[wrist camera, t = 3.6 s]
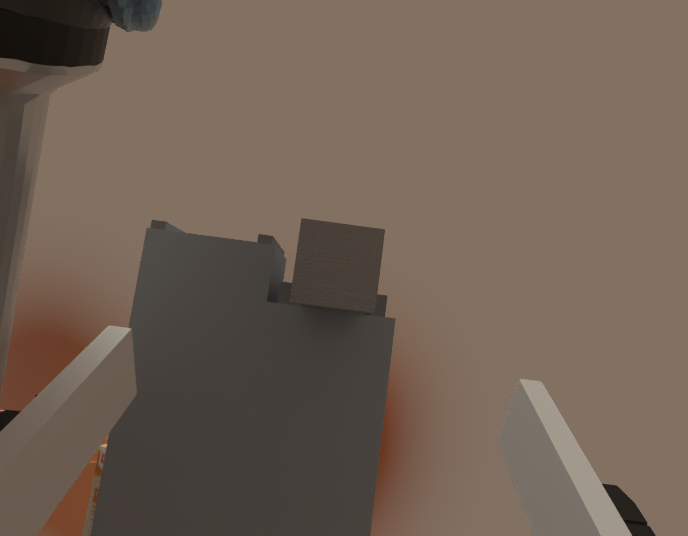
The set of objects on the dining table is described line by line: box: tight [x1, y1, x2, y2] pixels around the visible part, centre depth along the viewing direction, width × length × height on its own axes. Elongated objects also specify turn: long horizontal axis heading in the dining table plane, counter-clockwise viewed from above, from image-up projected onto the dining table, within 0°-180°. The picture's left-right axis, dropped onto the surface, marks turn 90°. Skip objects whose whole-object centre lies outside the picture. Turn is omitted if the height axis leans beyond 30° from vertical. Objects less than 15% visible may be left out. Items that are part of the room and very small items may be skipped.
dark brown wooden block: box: [290, 219, 385, 314], centre depth 32 cm, size 24×4×4 cm, turn 2°
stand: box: [90, 220, 395, 536], centre depth 32 cm, size 10×19×41 cm, turn 92°
